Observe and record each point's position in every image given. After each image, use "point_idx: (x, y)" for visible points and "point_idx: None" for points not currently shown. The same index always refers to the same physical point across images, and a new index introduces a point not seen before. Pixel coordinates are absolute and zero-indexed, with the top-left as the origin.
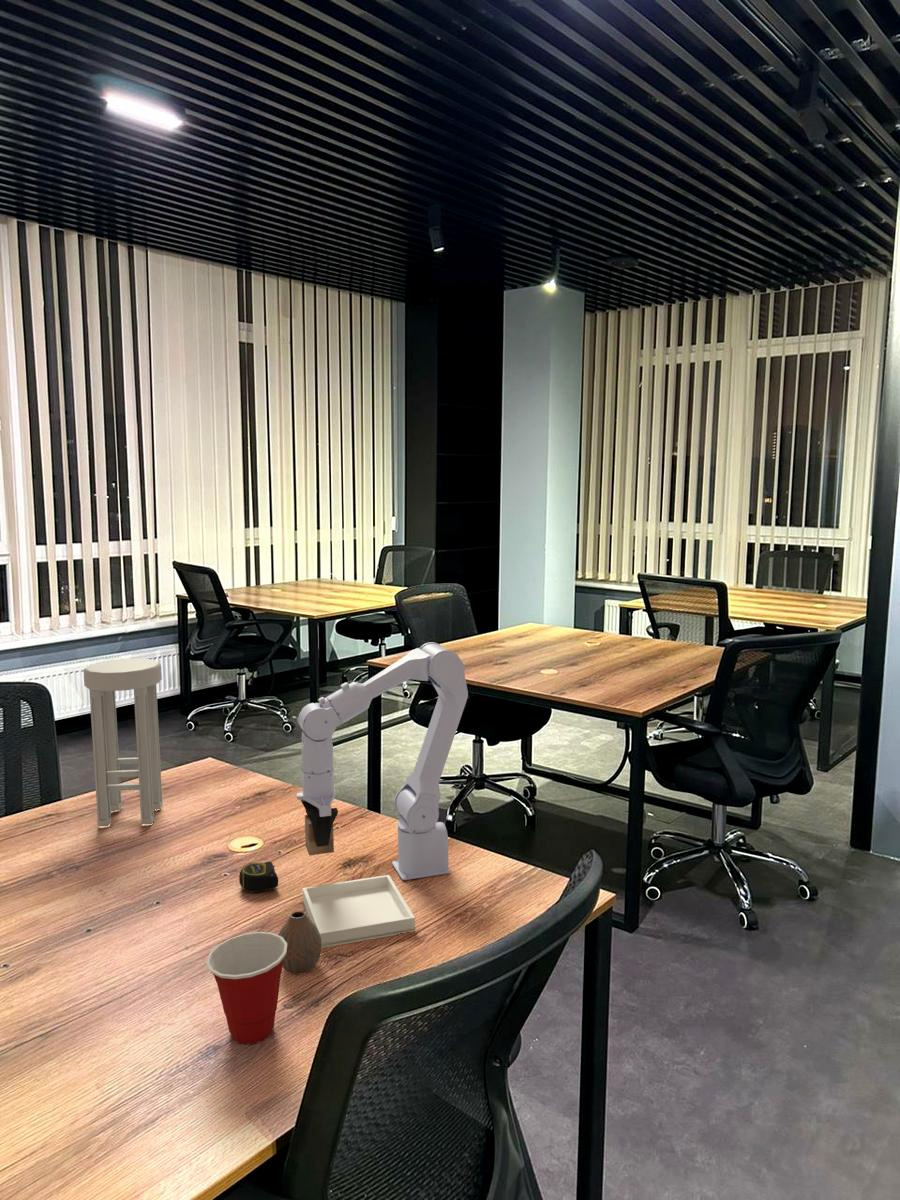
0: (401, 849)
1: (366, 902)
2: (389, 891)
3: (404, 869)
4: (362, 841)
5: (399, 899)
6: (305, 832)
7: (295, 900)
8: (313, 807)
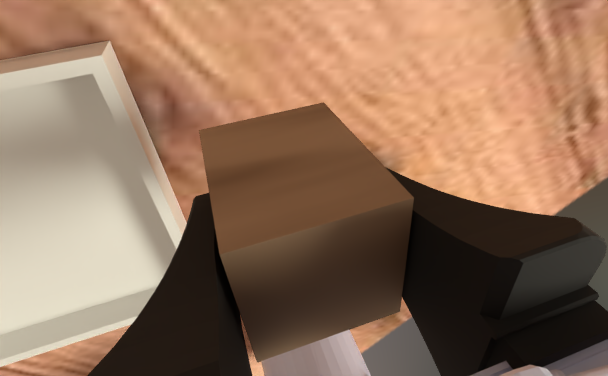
0: None
1: (88, 246)
2: None
3: None
4: (471, 189)
5: (53, 339)
6: (345, 138)
7: (116, 7)
8: (440, 284)
